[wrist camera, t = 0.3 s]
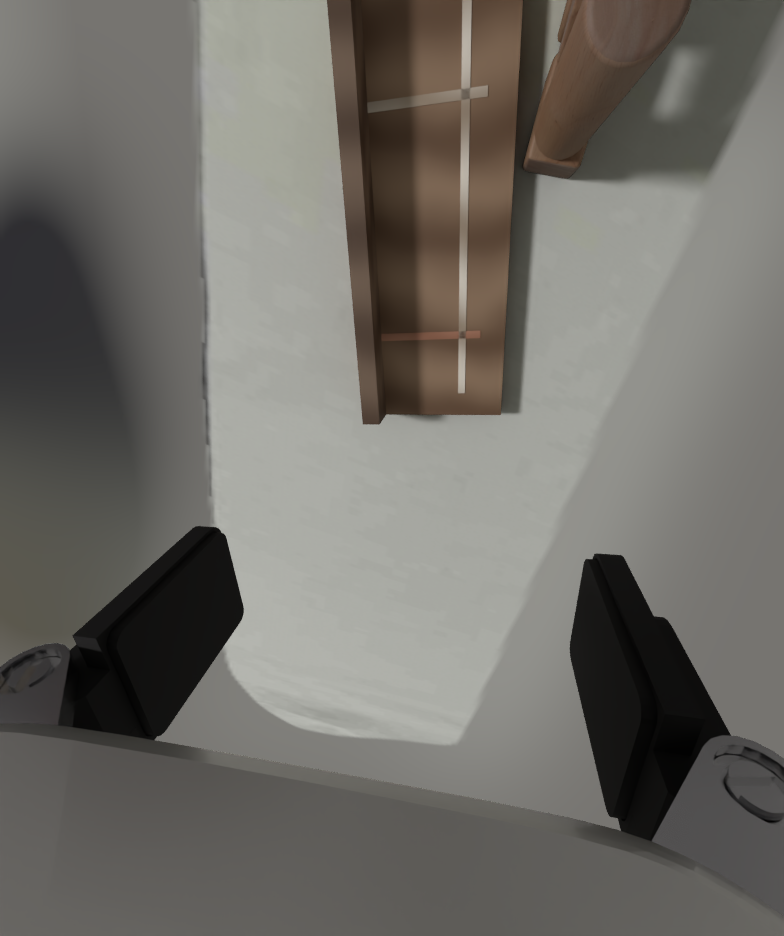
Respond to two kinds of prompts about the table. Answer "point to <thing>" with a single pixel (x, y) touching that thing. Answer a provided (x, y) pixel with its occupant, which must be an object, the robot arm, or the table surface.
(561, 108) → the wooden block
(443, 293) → the marking board
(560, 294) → the table surface
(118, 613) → the robot arm
